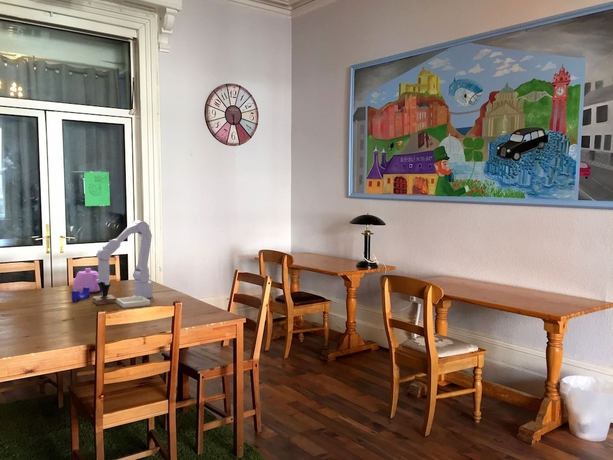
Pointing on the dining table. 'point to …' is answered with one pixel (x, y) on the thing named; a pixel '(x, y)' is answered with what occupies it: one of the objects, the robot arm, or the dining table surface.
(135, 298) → the tray
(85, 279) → the teapot
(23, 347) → the dining table surface
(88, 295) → the cable clip
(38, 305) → the dining table surface
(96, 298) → the square hole board
